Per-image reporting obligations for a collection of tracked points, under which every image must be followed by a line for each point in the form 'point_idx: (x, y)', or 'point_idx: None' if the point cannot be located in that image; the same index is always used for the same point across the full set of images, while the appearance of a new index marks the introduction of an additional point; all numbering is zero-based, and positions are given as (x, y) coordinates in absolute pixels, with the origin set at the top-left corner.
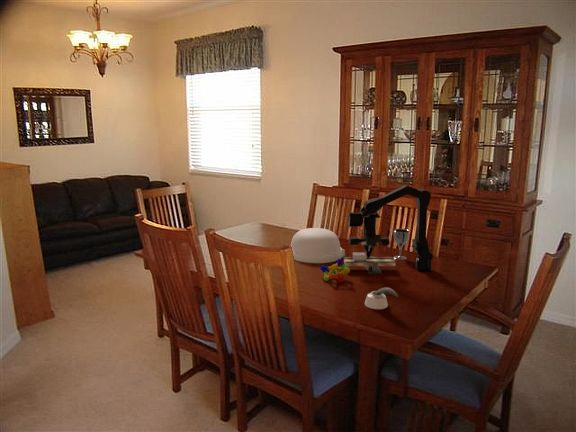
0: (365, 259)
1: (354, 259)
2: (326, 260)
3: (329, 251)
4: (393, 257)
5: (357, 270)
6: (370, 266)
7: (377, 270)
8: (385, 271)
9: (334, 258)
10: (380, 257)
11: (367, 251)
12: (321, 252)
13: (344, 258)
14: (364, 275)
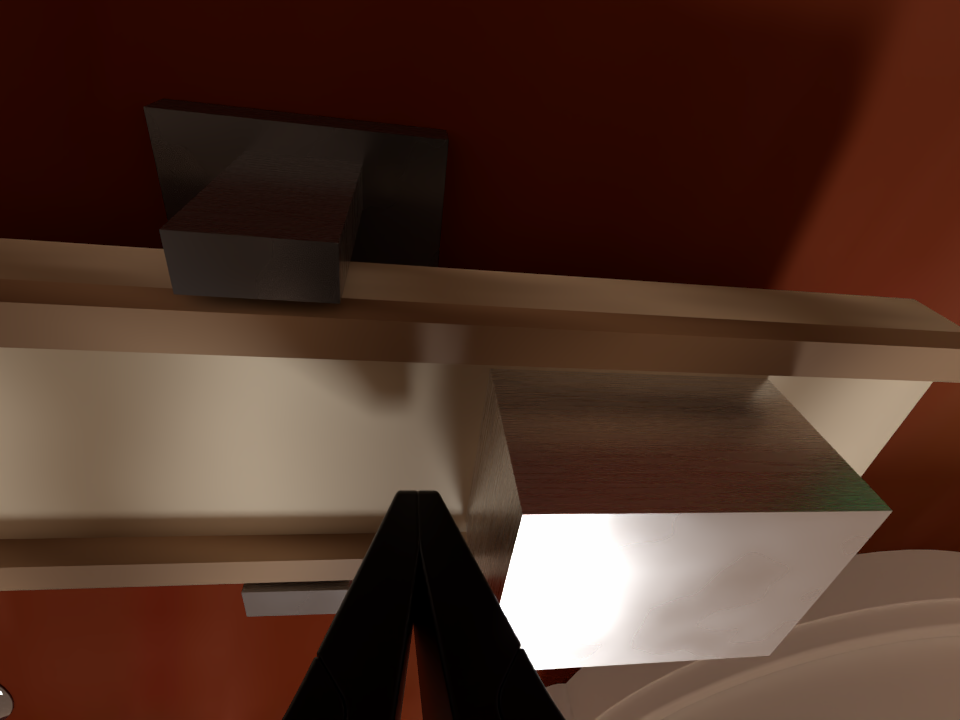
0: (520, 414)
1: (790, 421)
2: (829, 585)
3: (827, 713)
4: (4, 699)
5: None
6: None
7: (239, 157)
8: None
9: None
10: (96, 570)
11: (480, 669)
12: (936, 687)
13: None
14: (570, 24)
